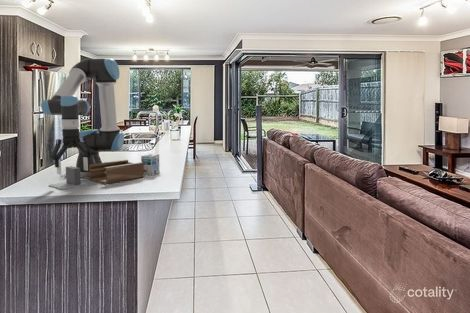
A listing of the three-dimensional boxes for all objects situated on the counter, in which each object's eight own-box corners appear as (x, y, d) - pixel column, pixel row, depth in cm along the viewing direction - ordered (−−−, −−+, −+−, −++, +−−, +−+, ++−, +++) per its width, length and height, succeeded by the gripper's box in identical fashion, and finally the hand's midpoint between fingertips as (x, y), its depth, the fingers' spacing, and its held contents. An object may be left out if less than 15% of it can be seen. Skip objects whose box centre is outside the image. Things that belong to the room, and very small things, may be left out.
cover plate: (48, 186, 187) (47, 168, 186) (83, 181, 201) (82, 163, 200) (62, 190, 179) (61, 171, 178) (97, 184, 193) (97, 166, 191)
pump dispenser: (100, 175, 213) (99, 148, 211) (87, 179, 204) (86, 150, 201) (85, 174, 217) (84, 147, 214) (71, 177, 207) (70, 149, 205)
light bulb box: (152, 175, 215) (152, 156, 214) (141, 175, 217) (140, 155, 215) (160, 172, 226) (159, 153, 224) (149, 171, 227) (148, 153, 226)
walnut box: (89, 180, 201) (89, 164, 200) (125, 174, 218) (125, 159, 216) (107, 184, 191) (106, 167, 190) (143, 178, 208) (143, 162, 207)
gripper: (48, 130, 174) (51, 176, 177) (98, 127, 193) (100, 169, 196) (40, 129, 179) (43, 174, 182) (90, 126, 198) (92, 168, 201)
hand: (72, 172), depth 189 cm, fingers open, 13 cm apart
